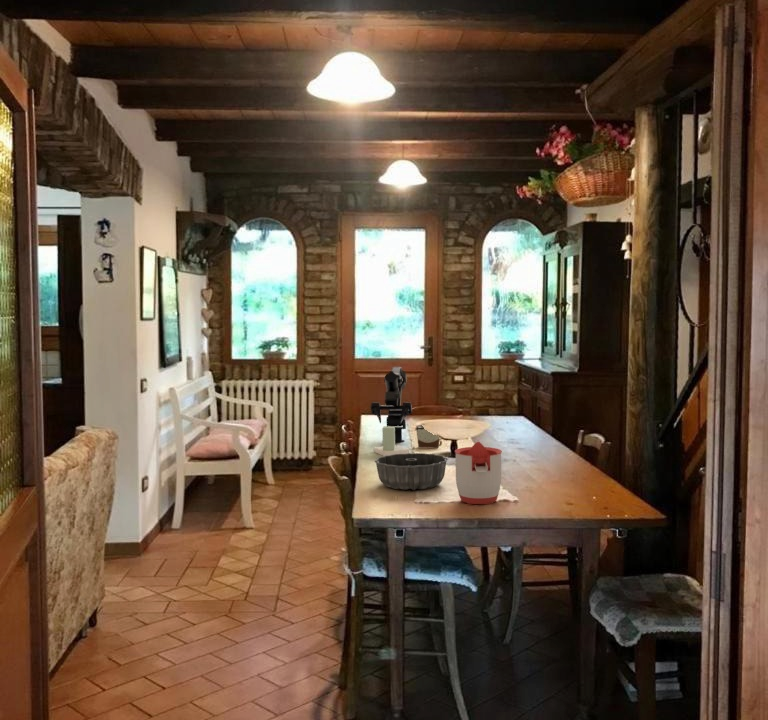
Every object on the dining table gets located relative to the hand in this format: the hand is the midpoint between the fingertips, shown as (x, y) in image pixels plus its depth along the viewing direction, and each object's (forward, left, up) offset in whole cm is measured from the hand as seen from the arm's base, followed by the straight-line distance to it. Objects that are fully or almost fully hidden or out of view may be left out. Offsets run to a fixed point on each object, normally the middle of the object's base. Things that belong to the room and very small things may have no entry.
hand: (390, 422), depth 355 cm
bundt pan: (+67, -21, -13) cm, 72 cm away
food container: (-3, +20, -13) cm, 24 cm away
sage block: (+6, -4, -11) cm, 13 cm away
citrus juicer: (+99, -11, -13) cm, 101 cm away
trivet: (+4, -2, -13) cm, 14 cm away
